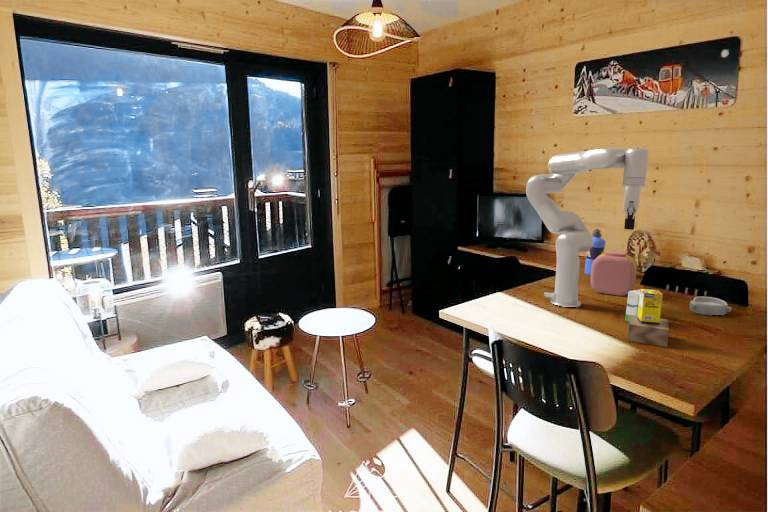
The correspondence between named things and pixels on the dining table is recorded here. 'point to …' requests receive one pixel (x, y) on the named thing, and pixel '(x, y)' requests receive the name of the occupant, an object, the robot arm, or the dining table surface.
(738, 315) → the dining table surface
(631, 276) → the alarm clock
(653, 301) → the supplement box
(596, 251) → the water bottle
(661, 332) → the walnut block
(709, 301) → the dish
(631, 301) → the ink box
